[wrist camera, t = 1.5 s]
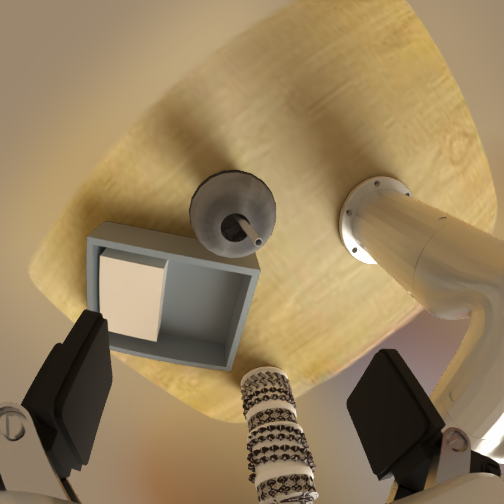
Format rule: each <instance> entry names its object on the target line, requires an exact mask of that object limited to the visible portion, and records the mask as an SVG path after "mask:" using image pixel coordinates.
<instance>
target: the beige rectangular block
mask: <svg viewBox="0 0 504 504" xmlns="http://www.w3.org/2000/svg"><path fill="white" fill-rule="evenodd" d="M167 267H168V260H167V259H162V258H156V257H151V256H146V255H141V254H136V253H132V252H127V251H122V250H117V249H112V248H106V249H105V250H104V252H103V253H102V254H101V255H100V275H99V293H100V313H102V315H103V318H104V319H107V321H108V331H110V332H114V333H119V334H123V335H127V336H132V337H136V338H141V339H146V340H150V341H155V342H156V341H157V337H158V333H159V329H160V325H161V317H162V308H163V299H164V290H165V282H166V275H167Z"/></svg>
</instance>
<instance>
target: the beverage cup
mask: <svg viewBox="0 0 504 504" xmlns="http://www.w3.org/2000/svg"><path fill="white" fill-rule="evenodd" d="M189 215H190V224H191V226H192V228H193V230H194V232H195V235H196V237H197V239H198V240H199V241H200V242H201V244H202V245H203V246H204V247H205V248H206V249H208V250H209V251H211V252H213V253H215V254H217V255H218V256H223V257H228V258H238V257H244V256H247V255H249V254H252V253H254V252H256V251H257V250H258V249H259V248H261V247H262V246H263V245H264V244H265V243H266V242H267V240H268V239H269V237H270V236H271V234H272V232H273V229H274V225H275V222H276V203H275V201H274V198H273V195H272V192H271V191H270V189H269V188H268V187H267V186H266V184H265V183H264V182H263V181H262V180H261V179H259V178H257V177H256V176H254V175H253V174H251V173H247V172H244V171H240V170H229V171H222V172H219V173H217V174H214V175H212V176H210V177H209V178H207V179H206V180H205V181H204V182H203V183H201V184H200V185H199V187H198V188H197V190H196V191H195V193H194V195H193V196H192V199H191V204H190V208H189Z"/></svg>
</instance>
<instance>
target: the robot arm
mask: <svg viewBox="0 0 504 504" xmlns="http://www.w3.org/2000/svg"><path fill="white" fill-rule="evenodd" d="M374 183H375V184H374ZM347 210H348V212H347V213H346V211H347ZM339 232H340V237H341V240H342V243H343V245H344V246H345V248H346V250H347V251H348V252H349V253H350V254H351V255H352V256H353V257H355V258H356V259H357V260H359V261H361V262H363V263H368V264H379V265H380V266H381V267H382V268H383V269H384V270H385V271H386V272H387V273H388V274H389V275H390V276H392V277H393V278H394V279H395V280H396V281H397V282H398V283H399V284H400V285H401V286H402V287H403V288H404V289H405V290H406V291H407V292H408V293H409V294H410V295H411V296H412V297H413V298H415V299H416V300H417V301H418V302H419V303H420V304H421V305H422V306H423V307H424V308H425V309H426V310H427V311H428V312H430V313H431V314H433V315H434V316H436V317H439V318H442V319H448V320H454V319H462V318H467V317H471V321H470V325H469V328H468V330H467V332H466V334H465V336H464V338H463V341H462V343H461V345H460V347H459V348H458V350H457V352H456V353H455V355H454V357H453V359H452V360H451V362H450V363H449V365H448V367H447V368H446V370H445V371H444V373H443V375H442V376H441V378H440V380H439V381H438V383H437V384H436V386H435V388H434V389H433V391H432V393H431V395H430V397H428V396H427V394H426V393H425V391H424V390H423V388H422V387H421V385H420V384H419V382H418V380H417V379H416V378H415V376H414V375H413V373H412V372H411V370H410V369H409V367H408V366H407V364H406V363H405V361H404V360H403V359H402V357H401V356H400V354H399V353H398V351H396V350H395V349H381V350H379V352H378V353H376V354H375V355H374V357H373V359H372V361H371V362H370V364H369V366H368V367H367V369H366V371H365V372H364V374H363V376H362V377H361V379H360V381H359V382H358V384H357V386H356V387H355V388H354V390H353V392H352V393H351V395H350V396H349V398H348V399H347V409H348V411H349V414H350V416H351V419H352V421H353V424H354V426H355V428H356V431H357V433H358V436H359V438H360V440H361V443H362V445H363V448H364V451H365V453H366V455H367V458H368V461H369V463H370V466H371V468H372V471H373V473H374V474H375V475H377V477H378V479H379V481H380V480H384V479H388V478H390V477H391V476H393V475H394V477H395V480H394V482H393V485H392V488H391V491H390V494H389V496H388V499H387V501H386V504H504V474H503V473H502V474H501V470H500V466H499V464H498V463H504V240H501V239H499V238H497V237H495V236H493V235H491V234H489V233H487V232H485V231H482V230H480V229H478V228H476V227H474V226H472V225H470V224H468V223H466V222H464V221H462V220H460V219H458V218H456V217H454V216H452V215H450V214H448V213H445V212H443V211H441V210H439V209H437V208H434V207H432V206H430V205H428V204H425V203H423V202H421V201H418V200H416V199H414V198H413V196H412V194H411V192H410V191H409V189H408V188H407V187H406V186H405V185H404V184H403V183H402V182H400V181H398V180H396V179H394V178H391V177H386V176H376V177H372V178H369V179H366V180H365V181H363V182H361V183H360V184H358V185H357V186H356V187H355V188H354V189H353V190H352V191H351V192H350V194H349V195H348V197H347V198H346V200H345V202H344V204H343V207H342V209H341V213H340V218H339ZM111 385H112V368H111V359H110V347H109V334H108V321H107V319H104V318H103V315H102V313H99V312H95V311H91V310H87V309H86V310H84V311H83V312H82V314H81V315H80V317H79V318H78V320H77V322H76V323H75V325H74V326H73V328H72V329H71V331H70V333H69V334H68V336H67V337H66V339H65V341H64V342H63V344H61V343H57V344H56V345H55V346H54V347H53V349H52V350H51V352H50V354H49V355H48V357H47V359H46V360H45V362H44V364H43V365H42V367H41V369H40V370H39V372H38V374H37V376H36V377H35V379H34V381H33V383H32V385H31V386H30V388H29V390H28V392H27V394H26V396H25V398H24V399H23V401H22V403H21V405H19V404H17V403H13V402H3V403H0V504H82V503H81V501H80V499H79V498H78V496H77V494H76V493H75V491H74V489H73V487H72V485H71V484H70V482H69V480H68V478H67V477H69V476H70V472H71V469H75V470H78V471H81V467H82V464H83V465H87V464H88V461H89V458H90V454H91V450H92V447H93V443H94V440H95V436H96V432H97V429H98V426H99V422H100V419H101V416H102V412H103V410H104V406H105V403H106V400H107V397H108V394H109V391H110V388H111Z"/></svg>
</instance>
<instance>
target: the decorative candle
mask: <svg viewBox="0 0 504 504" xmlns="http://www.w3.org/2000/svg"><path fill="white" fill-rule="evenodd" d="M241 389H242V391H241V393H242V395H243V397H242V398H241V399H242V400H244V401H243V408H244V413H243V414H244V416H245V419H246V420H247V426H248V428H249V434H248V436H247V442H248V444H247V450H249V451H250V452H251V453H250V454H249V455H248V458H247V460H249V461H250V462H251V463H249V464H248V466H249V467H248V469H249V470H251V471H252V472H255V473H256V474H255V473H253V474H251V475H250V476H249V481H251V482H252V483H255V487H256V490H257V492H258V499H259V503H258V504H313V502H314V500H315V499H316V498H318V496H319V494H318V493H317V492H316V490H315V485H314V482H313V478H314V476H313V473H314V469H315V467H316V466H315V464H313V463H314V462H313V460H312V459H313V457H312V456H311V455H312V454H311V452H309V451H307V450H308V449H309V446H308V445H307V441H306V438H305V434H304V433H302V432H303V430H302V428H301V427H300V425H298V423H297V419H296V416H297V415H296V411H295V409H296V405H295V402H294V398H293V395H292V390H291V387H290V383H289V380H288V377H287V375H286V373H285V371H283V370H281V369H279V368H277V367H271V366H266V367H259V368H256V369H253V370H251V371H249V372H248V373H247V374H245V375H244V376H243V378H242V380H241ZM303 447H304V448H303ZM305 455H307V457H306V456H305ZM309 466H310V467H309ZM253 477H255V478H253Z"/></svg>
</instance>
